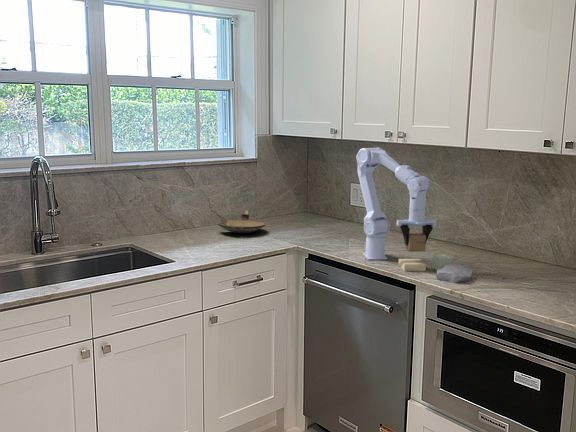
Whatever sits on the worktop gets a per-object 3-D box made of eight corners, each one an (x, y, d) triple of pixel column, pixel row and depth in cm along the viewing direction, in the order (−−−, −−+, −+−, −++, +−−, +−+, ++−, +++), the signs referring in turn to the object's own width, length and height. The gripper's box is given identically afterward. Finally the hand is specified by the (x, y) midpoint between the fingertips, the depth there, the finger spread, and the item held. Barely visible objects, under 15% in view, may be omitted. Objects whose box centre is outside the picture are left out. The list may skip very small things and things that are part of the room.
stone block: (472, 282, 203) (447, 271, 209) (476, 270, 202) (450, 260, 207) (459, 291, 194) (433, 280, 200) (463, 278, 193) (436, 267, 198)
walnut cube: (405, 247, 216) (405, 232, 215) (420, 247, 216) (421, 232, 215) (409, 251, 210) (409, 236, 209) (425, 251, 210) (425, 235, 209)
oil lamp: (208, 235, 264) (207, 219, 263) (239, 224, 291) (239, 209, 290) (250, 240, 255) (250, 223, 254) (278, 228, 282) (278, 213, 281)
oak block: (398, 266, 217) (398, 258, 216) (418, 266, 218) (419, 258, 217) (404, 272, 209) (404, 264, 209) (425, 272, 210) (425, 264, 209)
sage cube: (432, 268, 214) (433, 255, 213) (443, 267, 216) (444, 254, 215) (440, 271, 209) (441, 258, 208) (451, 270, 211) (452, 257, 210)
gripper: (401, 210, 205) (399, 247, 208) (440, 210, 207) (437, 246, 209) (395, 207, 212) (393, 242, 215) (433, 207, 214) (431, 242, 216)
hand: (415, 244), depth 213 cm, fingers closed on walnut cube, 6 cm apart
